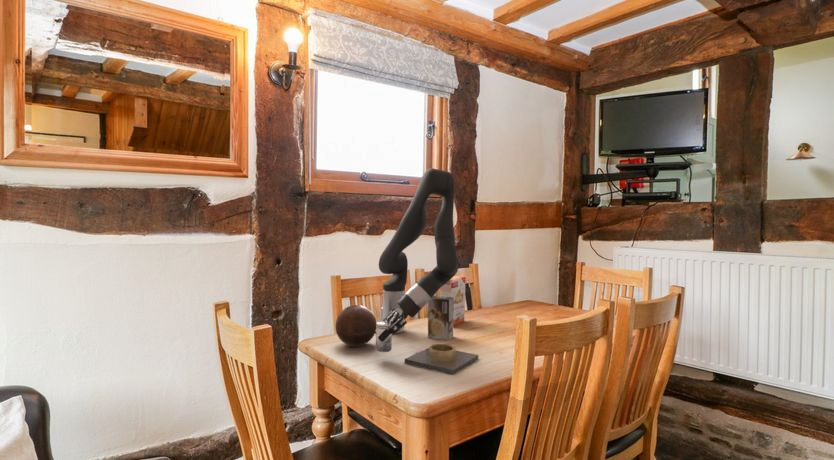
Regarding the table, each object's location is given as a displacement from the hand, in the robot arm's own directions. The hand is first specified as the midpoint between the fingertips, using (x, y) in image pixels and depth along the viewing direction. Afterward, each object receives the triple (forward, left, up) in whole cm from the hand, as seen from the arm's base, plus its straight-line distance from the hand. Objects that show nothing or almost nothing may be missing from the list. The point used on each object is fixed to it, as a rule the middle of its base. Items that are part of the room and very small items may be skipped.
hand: (378, 337), depth 147 cm
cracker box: (-5, +60, -8) cm, 61 cm away
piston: (+1, +1, -4) cm, 5 cm away
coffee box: (+2, +37, -8) cm, 38 cm away
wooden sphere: (-18, +9, -8) cm, 21 cm away
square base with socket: (+17, +12, -8) cm, 23 cm away
